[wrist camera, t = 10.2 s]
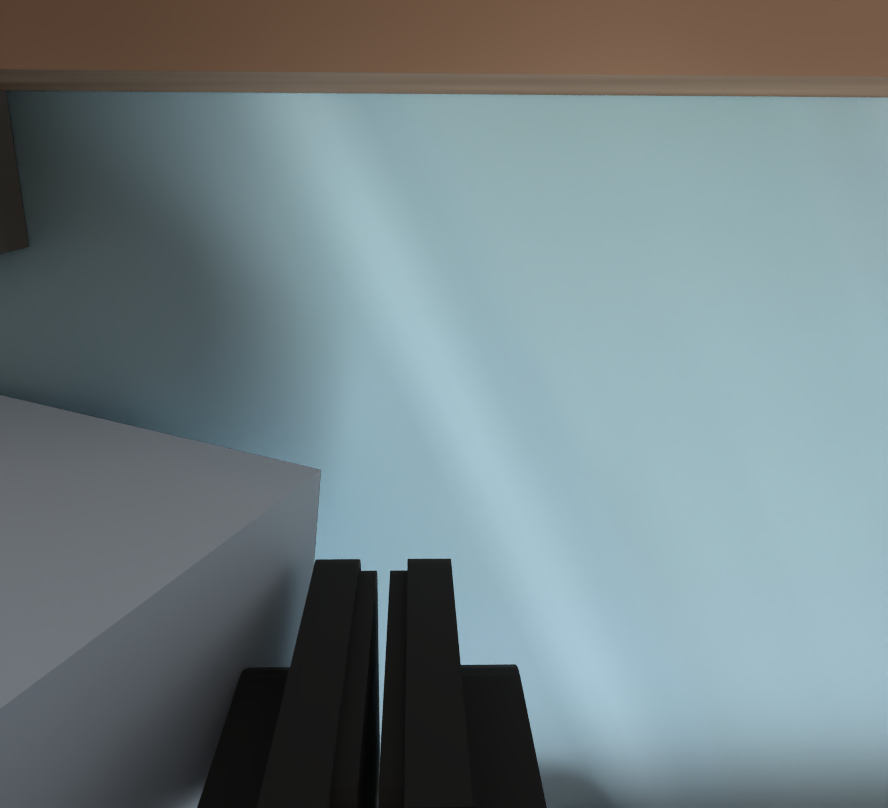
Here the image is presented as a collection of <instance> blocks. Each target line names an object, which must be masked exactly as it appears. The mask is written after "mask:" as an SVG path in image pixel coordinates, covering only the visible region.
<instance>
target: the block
mask: <svg viewBox="0 0 888 808" xmlns="http://www.w3.org/2000/svg"><path fill="white" fill-rule="evenodd" d="M320 477H321V470H319V469H315V468H311V467H307V466H302V465H298V464H294V463H290V462H285V461H281V460H277V459H272V458H268V457H264V456H260V455H255V454H251V453H247V452H242V451H238V450H234V449H230V448H225V447H221V446H217V445H212V444H208V443H204V442H200V441H195V440H191V439H187V438H182V437H178V436H174V435H170V434H165V433H161V432H157V431H152V430H148V429H144V428H140V427H135V426H131V425H127V424H122V423H118V422H114V421H110V420H105V419H101V418H97V417H92V416H88V415H84V414H80V413H75V412H71V411H67V410H62V409H58V408H54V407H50V406H45V405H41V404H37V403H33V402H28V401H24V400H20V399H15V398H11V397H7V396H3V395H0V808H197V806H198V803H199V800H200V797H201V794H202V791H203V788H204V785H205V782H206V779H207V776H208V772H209V769H210V766H211V763H212V760H213V757H214V754H215V751H216V748H217V745H218V742H219V739H220V736H221V733H222V730H223V727H224V724H225V721H226V717H227V714H228V711H229V708H230V705H231V702H232V699H233V696H234V693H235V690H236V687H237V684H238V681H239V678H240V676H241V673H242V671H243V670H244V669H246V668H252V667H290V665H291V661H292V656H293V652H294V648H295V644H296V640H297V635H298V631H299V627H300V623H301V618H302V614H303V610H304V606H305V602H306V597H307V593H308V589H309V585H310V580H311V576H312V572H313V568H314V557H315V544H316V530H317V517H318V503H319V490H320Z"/></svg>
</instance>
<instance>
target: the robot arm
mask: <svg viewBox="0 0 888 808" xmlns="http://www.w3.org/2000/svg"><path fill="white" fill-rule="evenodd" d="M379 768H380V772H379ZM378 792H379V795H378ZM197 808H547V807H546V802H545V798H544V793H543V788H542V783H541V778H540V773H539V768H538V763H537V758H536V753H535V748H534V743H533V738H532V733H531V728H530V723H529V718H528V713H527V708H526V703H525V698H524V693H523V688H522V683H521V679H520V674H519V670H518V667H517V666H516V665H460V654H459V643H458V632H457V621H456V610H455V599H454V588H453V577H452V566H451V559H408V571H390V587H389V605H388V624H387V642H386V661H385V679H384V698H383V716H382V735H381V753H380V734H379V662H378V589H377V571H361V563H360V559H334V560H316V561H315V564H314V568H313V572H312V576H311V580H310V585H309V589H308V593H307V597H306V602H305V606H304V610H303V614H302V618H301V623H300V627H299V631H298V635H297V640H296V644H295V648H294V652H293V656H292V661H291V665H290V667H252V668H246V669H244V670H243V671H242V673H241V676H240V678H239V681H238V684H237V687H236V690H235V693H234V696H233V699H232V702H231V705H230V708H229V711H228V714H227V717H226V721H225V724H224V727H223V730H222V733H221V736H220V739H219V742H218V745H217V748H216V751H215V754H214V757H213V760H212V763H211V766H210V769H209V772H208V776H207V779H206V782H205V785H204V788H203V791H202V794H201V797H200V800H199V803H198V806H197Z"/></svg>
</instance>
